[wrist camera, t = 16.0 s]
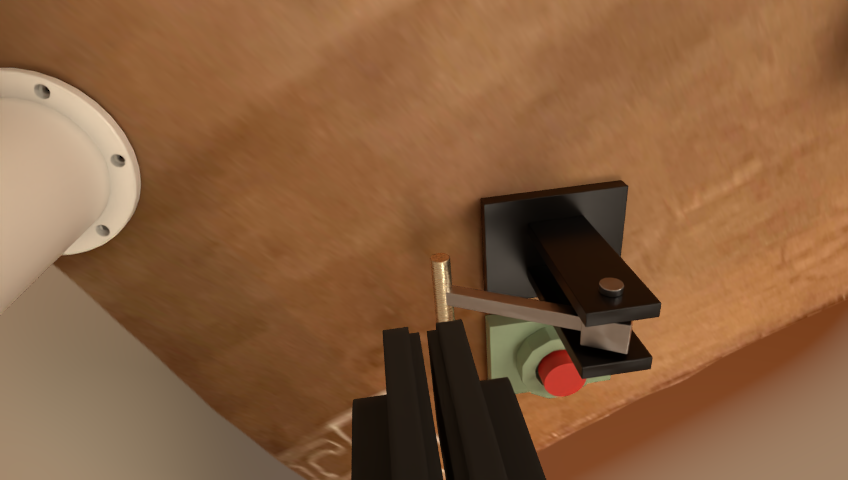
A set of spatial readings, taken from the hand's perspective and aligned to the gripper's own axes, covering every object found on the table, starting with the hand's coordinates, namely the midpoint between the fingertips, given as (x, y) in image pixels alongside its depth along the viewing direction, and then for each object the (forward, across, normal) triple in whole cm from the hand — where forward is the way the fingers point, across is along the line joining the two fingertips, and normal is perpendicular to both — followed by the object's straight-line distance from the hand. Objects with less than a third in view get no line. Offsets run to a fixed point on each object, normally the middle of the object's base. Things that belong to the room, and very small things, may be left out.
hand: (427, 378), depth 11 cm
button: (+24, -12, +24) cm, 36 cm away
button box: (+27, -12, +24) cm, 38 cm away
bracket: (+27, -12, +13) cm, 32 cm away
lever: (+20, -8, +13) cm, 25 cm away
